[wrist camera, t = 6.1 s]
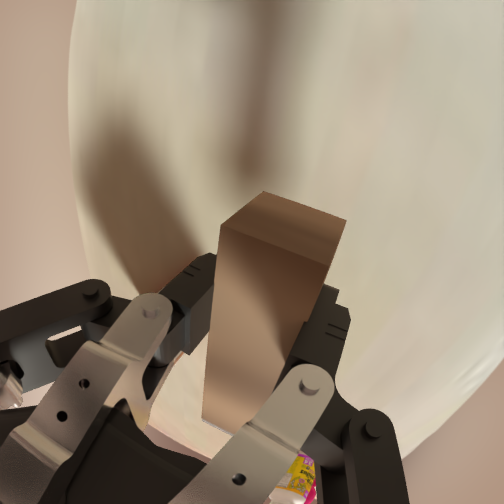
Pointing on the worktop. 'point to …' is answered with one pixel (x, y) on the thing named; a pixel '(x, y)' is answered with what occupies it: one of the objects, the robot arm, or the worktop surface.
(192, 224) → the worktop surface
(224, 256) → the tan flat bar
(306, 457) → the supplement bottle
